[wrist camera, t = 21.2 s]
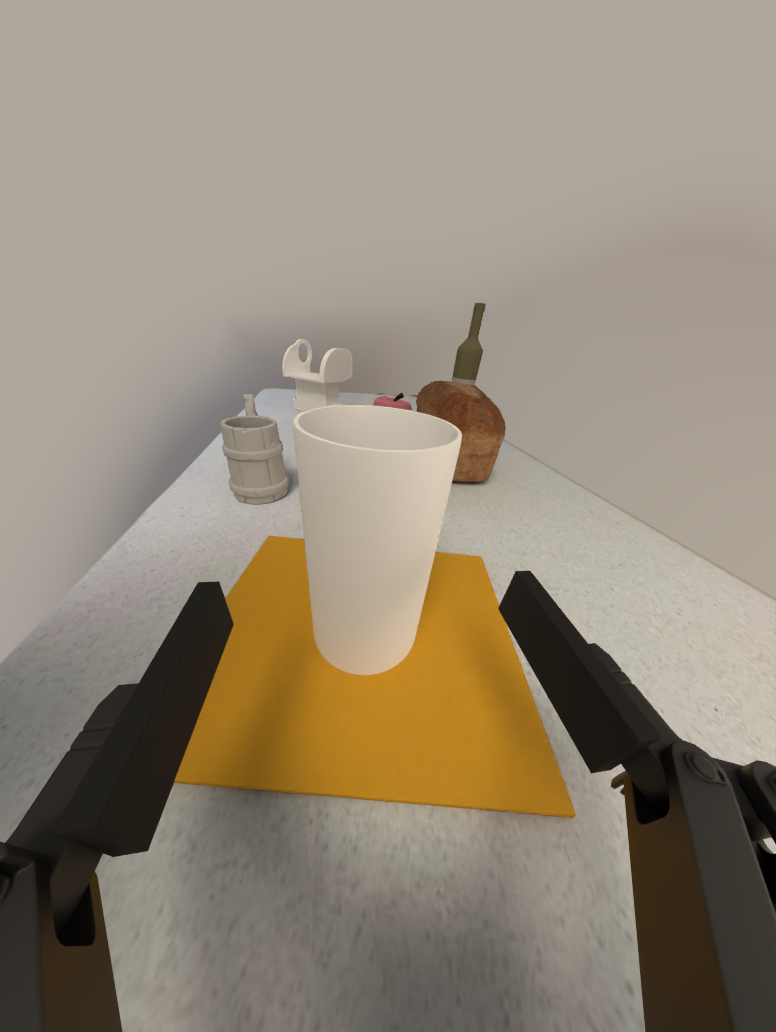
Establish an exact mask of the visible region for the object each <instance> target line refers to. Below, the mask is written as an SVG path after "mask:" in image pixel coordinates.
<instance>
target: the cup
mask: <svg viewBox="0 0 776 1032" xmlns="http://www.w3.org/2000/svg"><path fill="white" fill-rule="evenodd" d="M294 440H295V450H296V461H297V471H298V481H299V491H300V501H301V511H302V521H303V532H304V542H305V552H306V562H307V572H308V582H309V592H310V602H311V612H312V622H313V632H314V639H315V643H316V646H317V648H318V650H319V651H320V653H321V655H322V656H323V657H324V658H325V659H326V660H327V661H328V662H329V663H330V664H331V665H333V666H334V667H336V668H337V669H339V670H341V671H344V672H347V673H350V674H355V675H374V674H379V673H382V672H385V671H387V670H389V669H391V668H393V667H395V666H396V665H398V664H399V663H400V662H401V661H402V660H403V659H404V658H405V657H406V656H407V655H408V653H409V652H410V650H411V648H412V646H413V643H414V641H415V636H416V632H417V628H418V624H419V620H420V615H421V611H422V607H423V603H424V598H425V594H426V590H427V586H428V581H429V577H430V573H431V569H432V565H433V560H434V556H435V552H436V548H437V543H438V539H439V535H440V531H441V527H442V522H443V518H444V514H445V510H446V505H447V501H448V497H449V493H450V489H451V484H452V480H453V476H454V471H455V467H456V463H457V459H458V454H459V450H460V446H461V440H462V433H461V431H460V430H459V429H458V428H457V427H456V426H454V425H453V424H451V423H449V422H447V421H445V420H443V419H440V418H437V417H434V416H431V415H428V414H424V413H420V412H415V411H410V410H405V409H399V408H392V407H383V406H369V405H338V406H327V407H320V408H315V409H311V410H307V411H305V412H302V413H300V414H299V415H297V416H296V417H295V419H294Z"/></svg>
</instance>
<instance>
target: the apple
mask: <svg viewBox="0 0 776 1032" xmlns="http://www.w3.org/2000/svg"><path fill="white" fill-rule="evenodd" d="M401 398H404V396H403V394H402V393H401V394H399V395H398V396H397V397H396V398H395V399H394V398H389V397H386V396H384V397H380V398H377V399H375V401H374V404H373V406H383V407H392V408H399V409H405V410H410V411H412V408H411V404H410V403H408V402H404V401H402V400H399V399H401Z"/></svg>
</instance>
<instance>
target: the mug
mask: <svg viewBox="0 0 776 1032" xmlns="http://www.w3.org/2000/svg"><path fill="white" fill-rule="evenodd" d="M244 399H245V411H246V416H240V417H232V418H227V419H225V420H223V421H222V422H221V423H220V424H221V430H222V435H223V440H224V444H223V446H222V447H223V452H224V455H225V456H227V461H228V466H229V471H230V476H231V478H230V479H229V486H230V489H231V491H232V492H233V493H234V495H235V497H236V499H237V500H239V501H241V502H247V503H248V504H264V503H270V502H273V501H276V500H278V499H279V498H281V497H283V496H285V495H286V494H287V492H288V487H287V486H288V484H289V477H288V475H287V474H286V472H285V469H284V463H283V457H282V452H283V445H282V442H281V441H280V439H279V433H278V427H277V422H276V421H275V420H273V419H271V418H268V417H262V416H258V415H257V412H256V409H255V404H254V398H253V395H252V394H246V395H244Z"/></svg>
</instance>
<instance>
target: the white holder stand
mask: <svg viewBox="0 0 776 1032" xmlns="http://www.w3.org/2000/svg"><path fill="white" fill-rule="evenodd" d="M301 343H304V344H305V345H306V347H307V350H308V358H307V360H306V362H304V363H302V362H301V361H300V359H299V356H298V347H299V345H300V344H301ZM311 360H312V349H311V346H310V344H309V343H308V341H306V340H304V339H298V340H297V341H296V342H295V344H293V345H291V346H290V347H289V348H288V349H287V351H286V353H285V355H284V359H283V376H287V377H293V378H295V379H296V391H297V398H294V399H293V404H294V409H297V410H301V411H307V410H311V409H315V408H320V407H327V406H338V405H343V404H340V403H339V382H341V381H347V379H348V378H352V354H351V352H350V351H349V350H348V349H342V348H333V349H330V350H329V351H328V352H327V353H326V354H325V356H324V358H323V360H322V363H321V368H320V374H316V373H310V362H311Z"/></svg>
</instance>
